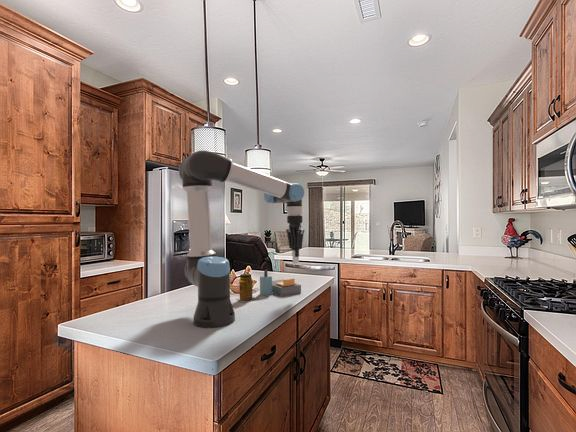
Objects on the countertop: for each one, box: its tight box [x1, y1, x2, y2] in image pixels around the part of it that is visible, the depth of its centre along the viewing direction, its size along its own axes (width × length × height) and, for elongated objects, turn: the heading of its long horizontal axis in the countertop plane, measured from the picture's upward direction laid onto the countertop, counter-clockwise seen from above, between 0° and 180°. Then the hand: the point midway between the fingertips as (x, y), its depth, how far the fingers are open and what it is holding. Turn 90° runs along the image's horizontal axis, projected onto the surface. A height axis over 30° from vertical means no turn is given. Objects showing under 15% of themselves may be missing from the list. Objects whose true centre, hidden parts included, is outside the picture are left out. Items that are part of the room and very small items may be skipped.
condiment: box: [236, 273, 259, 303], centre depth 148 cm, size 7×8×12 cm
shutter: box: [275, 278, 297, 286], centre depth 161 cm, size 8×8×3 cm
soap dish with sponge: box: [272, 279, 302, 297], centre depth 164 cm, size 18×12×4 cm, turn 32°
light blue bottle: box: [259, 269, 273, 296], centre depth 158 cm, size 4×4×12 cm
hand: (295, 263), depth 154 cm, fingers closed
